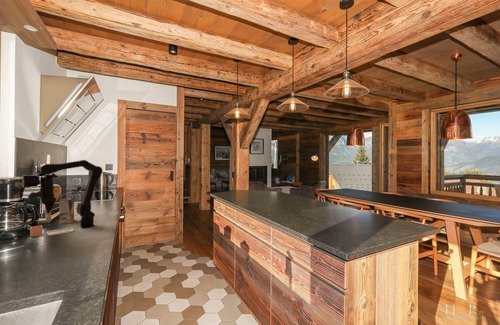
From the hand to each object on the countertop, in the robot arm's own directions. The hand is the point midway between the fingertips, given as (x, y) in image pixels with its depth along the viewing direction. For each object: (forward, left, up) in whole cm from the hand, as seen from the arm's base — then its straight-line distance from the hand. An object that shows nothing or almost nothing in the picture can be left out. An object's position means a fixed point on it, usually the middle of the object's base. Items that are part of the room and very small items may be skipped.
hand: (48, 212), depth 137 cm
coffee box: (-11, -25, -13) cm, 30 cm away
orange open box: (+5, -1, -13) cm, 14 cm away
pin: (0, 0, -5) cm, 5 cm away
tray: (-5, +2, -13) cm, 14 cm away
